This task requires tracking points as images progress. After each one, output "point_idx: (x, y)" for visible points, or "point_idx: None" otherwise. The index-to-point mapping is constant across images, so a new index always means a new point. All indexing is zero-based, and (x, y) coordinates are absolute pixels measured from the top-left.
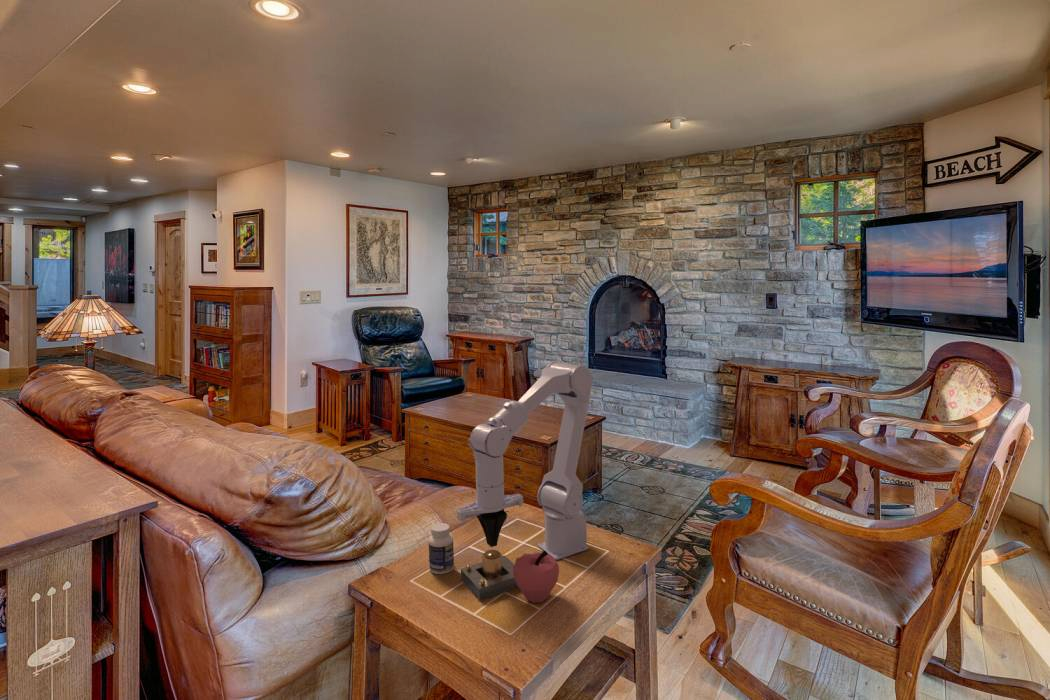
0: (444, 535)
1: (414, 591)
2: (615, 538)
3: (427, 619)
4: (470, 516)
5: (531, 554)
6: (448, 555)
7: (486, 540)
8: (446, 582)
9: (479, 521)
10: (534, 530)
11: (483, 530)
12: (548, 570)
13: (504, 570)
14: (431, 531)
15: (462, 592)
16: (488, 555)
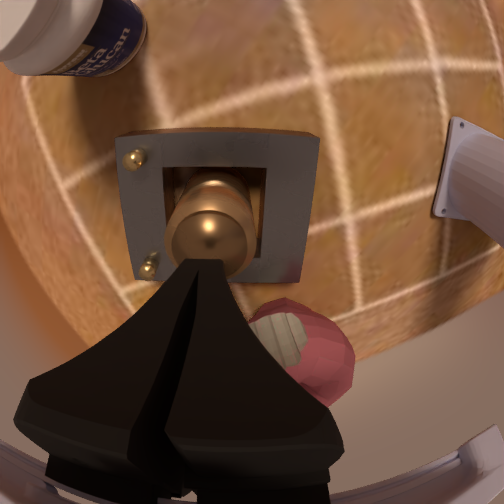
0: (17, 53)
1: (18, 136)
2: None
3: (35, 255)
4: (9, 452)
5: (313, 371)
6: (81, 70)
7: (177, 267)
8: (89, 125)
9: (90, 352)
10: (482, 48)
11: (145, 303)
12: None
13: (262, 218)
14: None
15: (114, 199)
16: (185, 255)
